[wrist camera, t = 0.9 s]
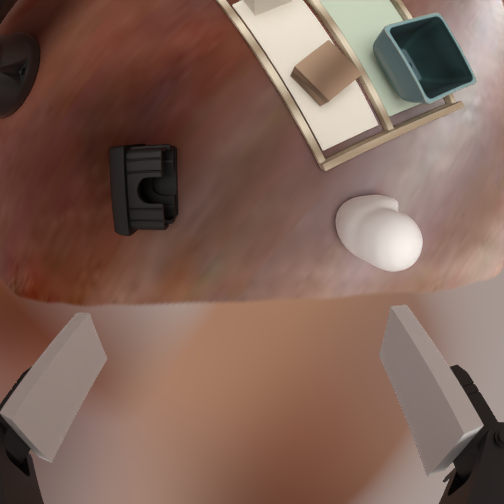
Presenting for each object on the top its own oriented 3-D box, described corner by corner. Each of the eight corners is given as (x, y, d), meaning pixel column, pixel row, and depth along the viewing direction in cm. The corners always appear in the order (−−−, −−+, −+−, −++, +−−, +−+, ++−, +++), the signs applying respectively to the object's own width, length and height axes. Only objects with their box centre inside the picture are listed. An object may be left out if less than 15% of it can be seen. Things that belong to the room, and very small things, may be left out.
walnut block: (289, 76, 29) (294, 66, 24) (319, 52, 27) (328, 39, 23) (319, 106, 30) (329, 101, 26) (348, 82, 29) (362, 74, 24)
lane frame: (191, -29, 23) (187, -40, 20) (330, -72, 19) (334, -82, 16) (320, 168, 33) (325, 171, 31) (451, 107, 29) (464, 107, 26)
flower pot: (406, 31, 25) (440, 11, 17) (438, 88, 28) (478, 82, 19) (355, 49, 27) (382, 26, 19) (391, 110, 30) (427, 105, 21)
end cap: (125, 145, 33) (99, 148, 27) (177, 141, 33) (158, 143, 27) (129, 219, 37) (106, 236, 30) (178, 220, 37) (162, 237, 30)
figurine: (389, 237, 36) (432, 277, 25) (337, 251, 37) (365, 297, 26) (382, 186, 34) (430, 210, 23) (327, 198, 35) (357, 227, 24)
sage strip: (299, -22, 24) (310, -68, 13) (358, -36, 22) (384, -75, 11) (387, 116, 30) (433, 112, 20) (440, 95, 28) (492, 89, 18)
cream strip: (231, 5, 26) (220, -39, 15) (288, -16, 24) (296, -63, 14) (322, 150, 33) (348, 156, 22) (376, 125, 31) (421, 123, 21)
